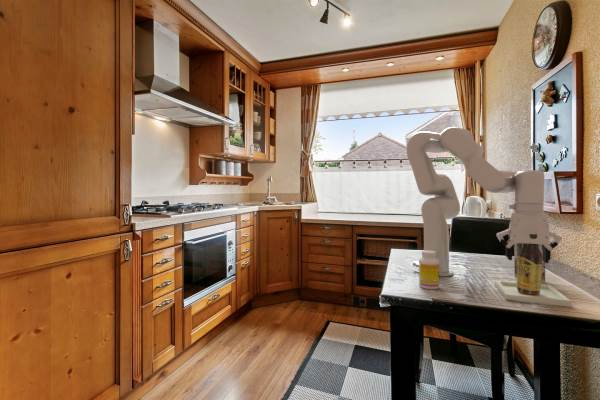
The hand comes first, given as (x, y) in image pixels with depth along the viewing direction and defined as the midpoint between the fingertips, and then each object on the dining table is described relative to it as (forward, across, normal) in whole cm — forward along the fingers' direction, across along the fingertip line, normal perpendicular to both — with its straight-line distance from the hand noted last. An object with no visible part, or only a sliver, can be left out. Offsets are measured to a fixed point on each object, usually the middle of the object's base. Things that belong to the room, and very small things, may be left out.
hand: (527, 260), depth 98 cm
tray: (+11, +1, 0) cm, 11 cm away
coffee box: (+12, +6, +19) cm, 23 cm away
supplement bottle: (+12, -29, -2) cm, 32 cm away
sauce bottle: (+11, 0, 0) cm, 11 cm away
